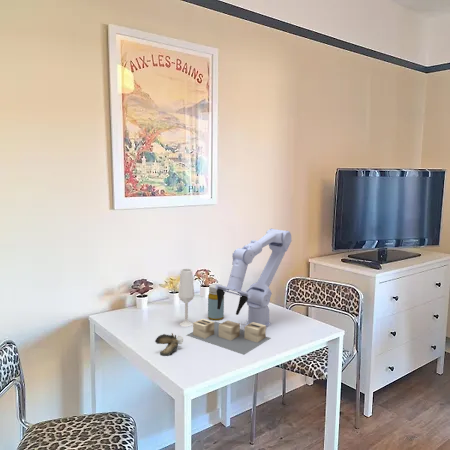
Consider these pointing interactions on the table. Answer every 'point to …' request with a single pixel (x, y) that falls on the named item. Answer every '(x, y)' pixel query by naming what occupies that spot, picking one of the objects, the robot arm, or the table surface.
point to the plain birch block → (229, 330)
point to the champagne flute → (186, 292)
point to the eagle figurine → (169, 343)
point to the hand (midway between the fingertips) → (227, 311)
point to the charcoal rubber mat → (231, 341)
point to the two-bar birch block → (203, 328)
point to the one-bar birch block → (255, 332)
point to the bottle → (214, 304)
